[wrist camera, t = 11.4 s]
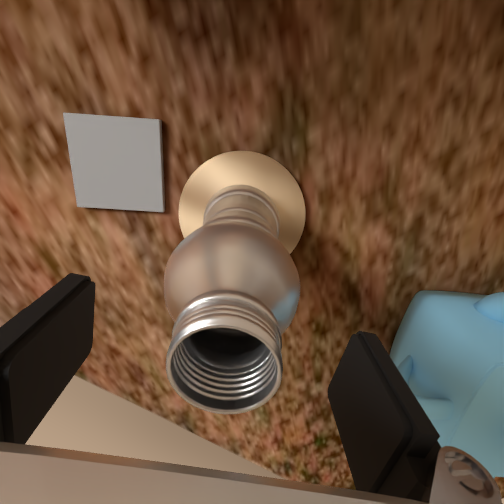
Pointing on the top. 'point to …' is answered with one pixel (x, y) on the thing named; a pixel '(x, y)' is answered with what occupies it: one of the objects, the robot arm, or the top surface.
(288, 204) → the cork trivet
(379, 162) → the top surface
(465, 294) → the teapot
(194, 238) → the silver metal bottle
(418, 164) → the top surface
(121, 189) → the slate coaster
